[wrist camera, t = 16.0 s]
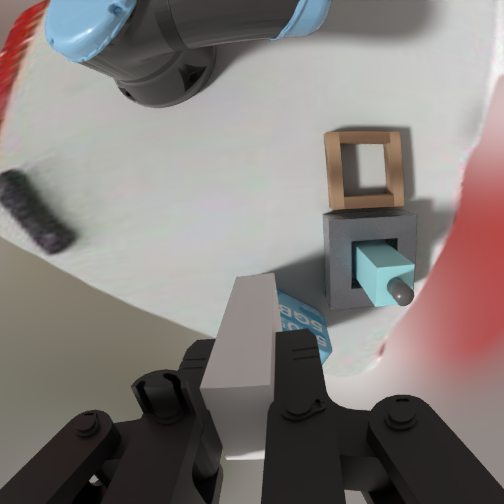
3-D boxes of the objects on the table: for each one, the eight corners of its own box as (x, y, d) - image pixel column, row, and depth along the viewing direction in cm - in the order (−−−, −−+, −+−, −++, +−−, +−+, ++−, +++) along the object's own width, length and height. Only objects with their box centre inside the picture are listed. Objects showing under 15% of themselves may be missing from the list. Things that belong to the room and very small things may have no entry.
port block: (322, 214, 42) (328, 220, 37) (402, 210, 41) (416, 215, 36) (325, 295, 45) (330, 310, 40) (400, 288, 44) (412, 301, 39)
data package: (322, 312, 46) (335, 355, 34) (307, 334, 47) (314, 382, 36) (252, 276, 45) (243, 312, 34) (238, 301, 46) (226, 342, 35)
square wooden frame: (323, 134, 39) (327, 131, 36) (391, 133, 38) (399, 131, 35) (329, 206, 42) (333, 209, 39) (396, 203, 41) (404, 206, 38)
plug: (351, 241, 42) (386, 277, 27) (380, 239, 41) (426, 273, 27) (351, 271, 43) (383, 319, 28) (380, 269, 42) (422, 314, 28)
